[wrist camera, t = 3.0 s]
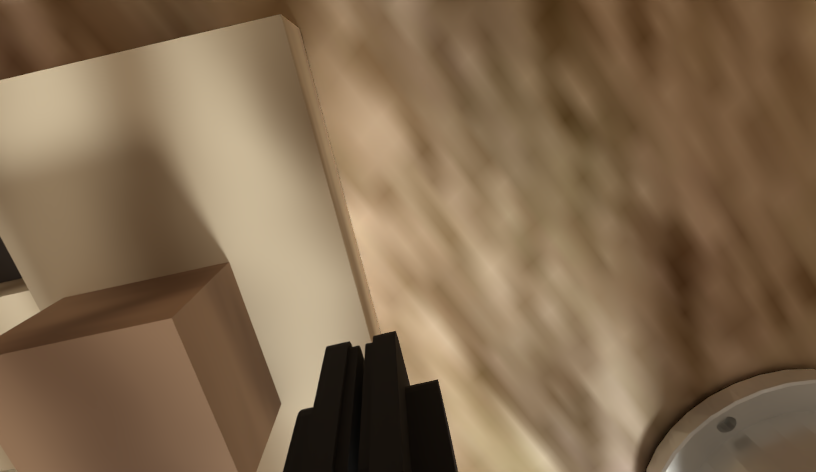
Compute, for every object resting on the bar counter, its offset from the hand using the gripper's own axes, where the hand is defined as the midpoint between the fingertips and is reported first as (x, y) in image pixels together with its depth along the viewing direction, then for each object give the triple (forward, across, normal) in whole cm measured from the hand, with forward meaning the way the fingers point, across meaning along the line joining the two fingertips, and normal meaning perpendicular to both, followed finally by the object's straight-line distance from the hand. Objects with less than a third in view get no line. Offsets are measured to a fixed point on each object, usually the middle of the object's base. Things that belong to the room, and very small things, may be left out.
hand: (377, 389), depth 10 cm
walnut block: (+5, +8, +1) cm, 9 cm away
